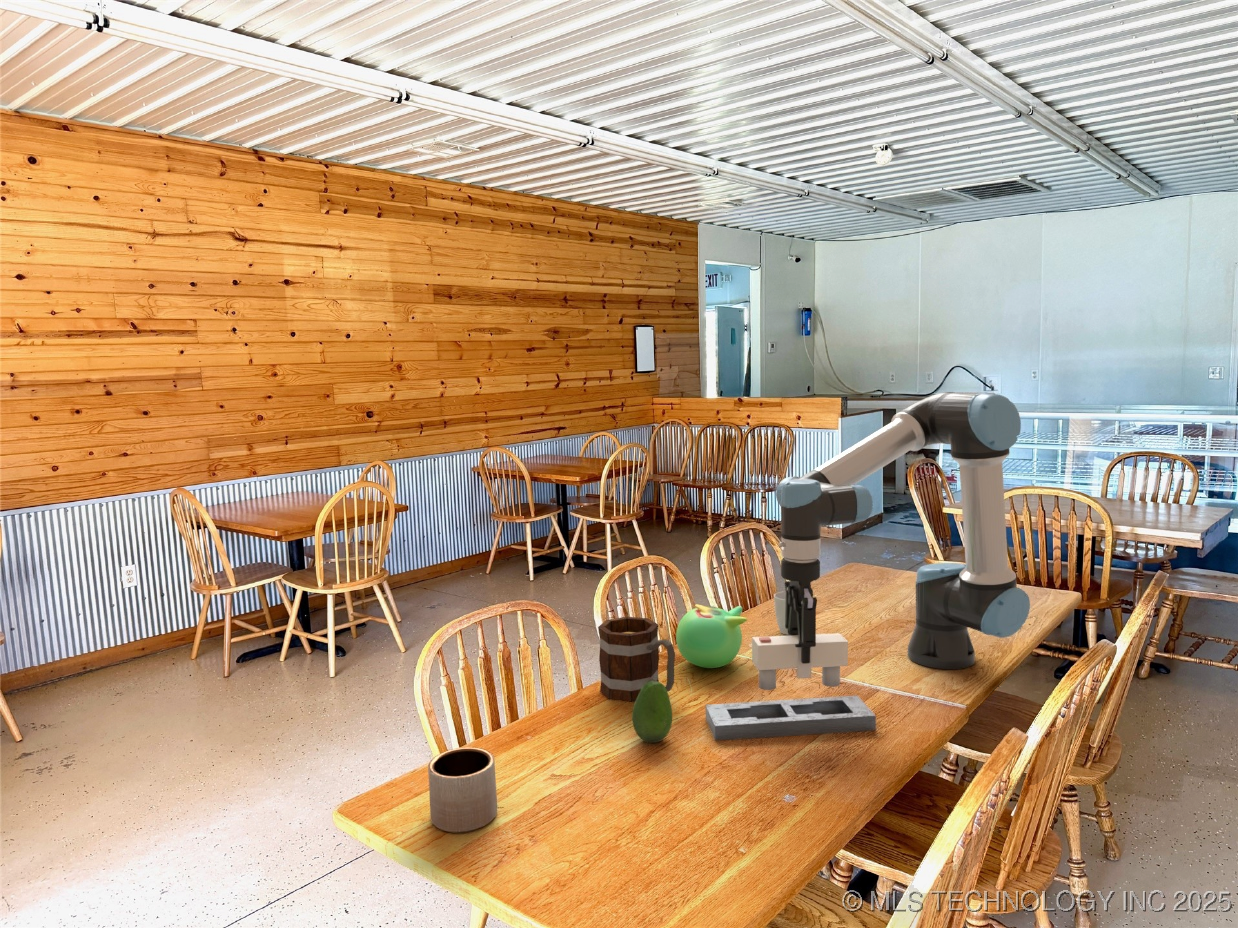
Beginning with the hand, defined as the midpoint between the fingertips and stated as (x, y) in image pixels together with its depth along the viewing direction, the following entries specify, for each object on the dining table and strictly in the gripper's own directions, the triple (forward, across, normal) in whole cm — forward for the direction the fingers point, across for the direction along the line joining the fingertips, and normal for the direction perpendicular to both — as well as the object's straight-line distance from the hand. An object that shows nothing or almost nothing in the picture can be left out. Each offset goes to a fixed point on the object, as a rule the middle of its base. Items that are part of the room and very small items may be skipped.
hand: (799, 671), depth 166 cm
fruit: (+11, +3, -30) cm, 32 cm away
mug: (+11, -20, -30) cm, 38 cm away
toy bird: (+11, -35, -11) cm, 38 cm away
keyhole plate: (+11, 0, -2) cm, 11 cm away
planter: (+12, +26, -64) cm, 70 cm away
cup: (+11, -55, +14) cm, 58 cm away
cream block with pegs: (+3, 0, 0) cm, 3 cm away
